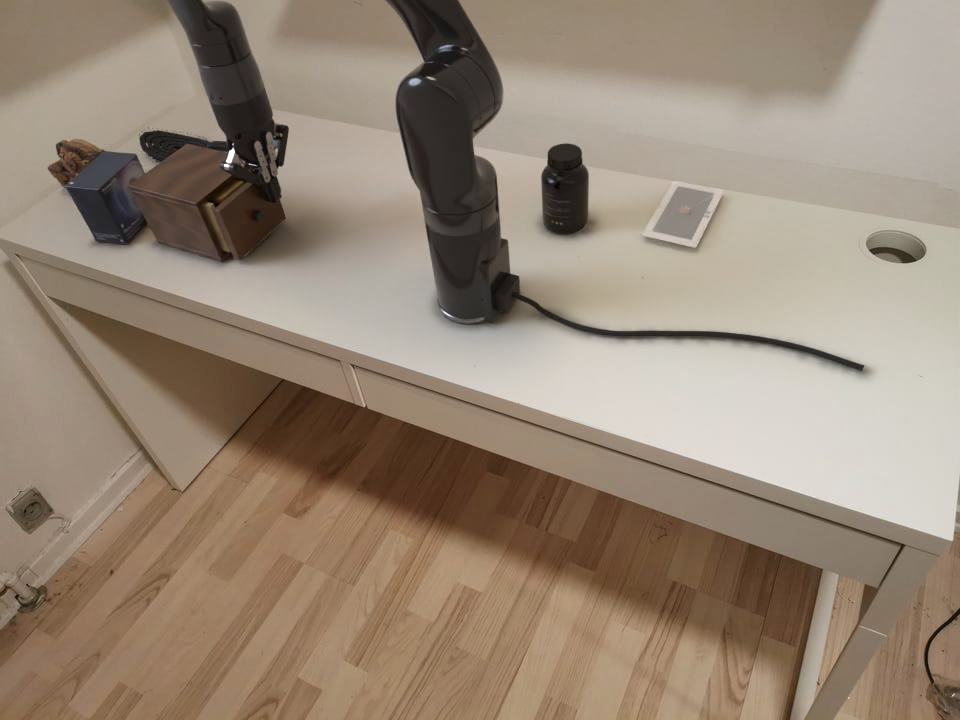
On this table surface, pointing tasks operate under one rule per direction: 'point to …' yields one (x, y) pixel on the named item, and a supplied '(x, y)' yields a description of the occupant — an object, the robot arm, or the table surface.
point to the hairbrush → (173, 143)
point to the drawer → (243, 219)
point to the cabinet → (183, 199)
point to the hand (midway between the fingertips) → (273, 199)
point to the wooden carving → (72, 159)
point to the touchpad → (683, 214)
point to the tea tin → (225, 192)
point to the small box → (109, 197)
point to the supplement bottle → (565, 190)
